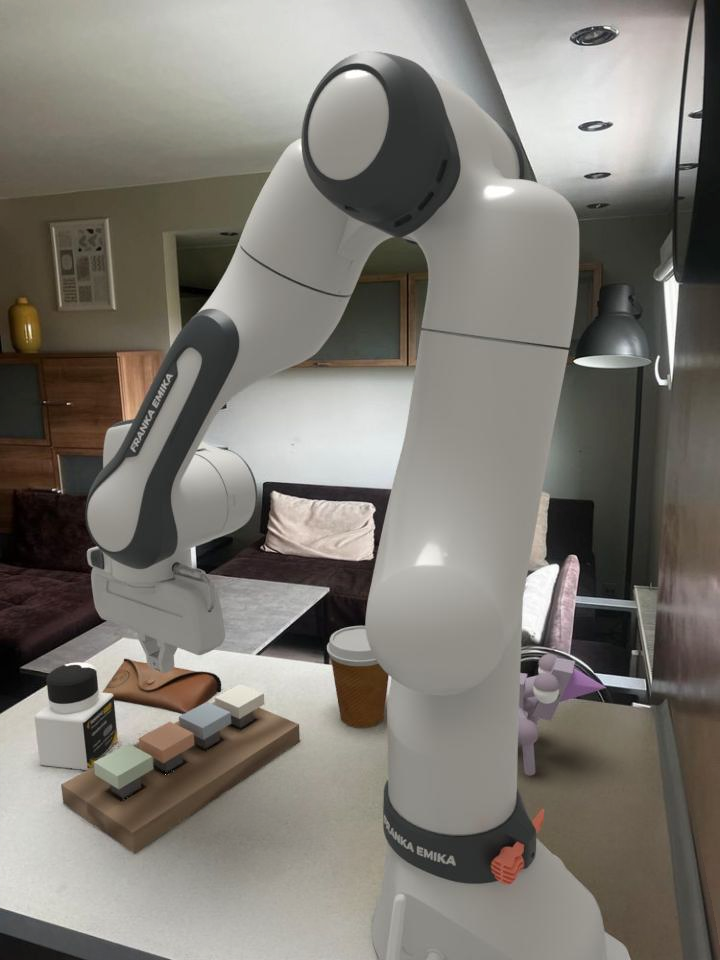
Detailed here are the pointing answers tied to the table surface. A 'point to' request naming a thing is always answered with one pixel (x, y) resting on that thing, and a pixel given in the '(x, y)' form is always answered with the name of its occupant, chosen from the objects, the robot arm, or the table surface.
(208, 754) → the wooden board
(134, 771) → the key sage
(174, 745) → the key terracotta
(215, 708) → the key slate
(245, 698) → the key ivory
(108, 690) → the sunglasses case
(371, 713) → the disposable coffee cup
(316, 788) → the table surface
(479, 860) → the robot arm
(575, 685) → the purple toy figure
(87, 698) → the medicine bottle
